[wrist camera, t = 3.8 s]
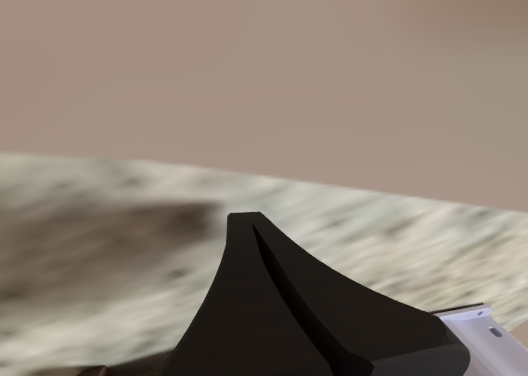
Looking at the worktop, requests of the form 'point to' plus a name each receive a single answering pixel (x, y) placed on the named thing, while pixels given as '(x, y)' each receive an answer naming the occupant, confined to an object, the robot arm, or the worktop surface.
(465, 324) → the robot arm
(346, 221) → the worktop surface
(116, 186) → the worktop surface
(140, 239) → the worktop surface
